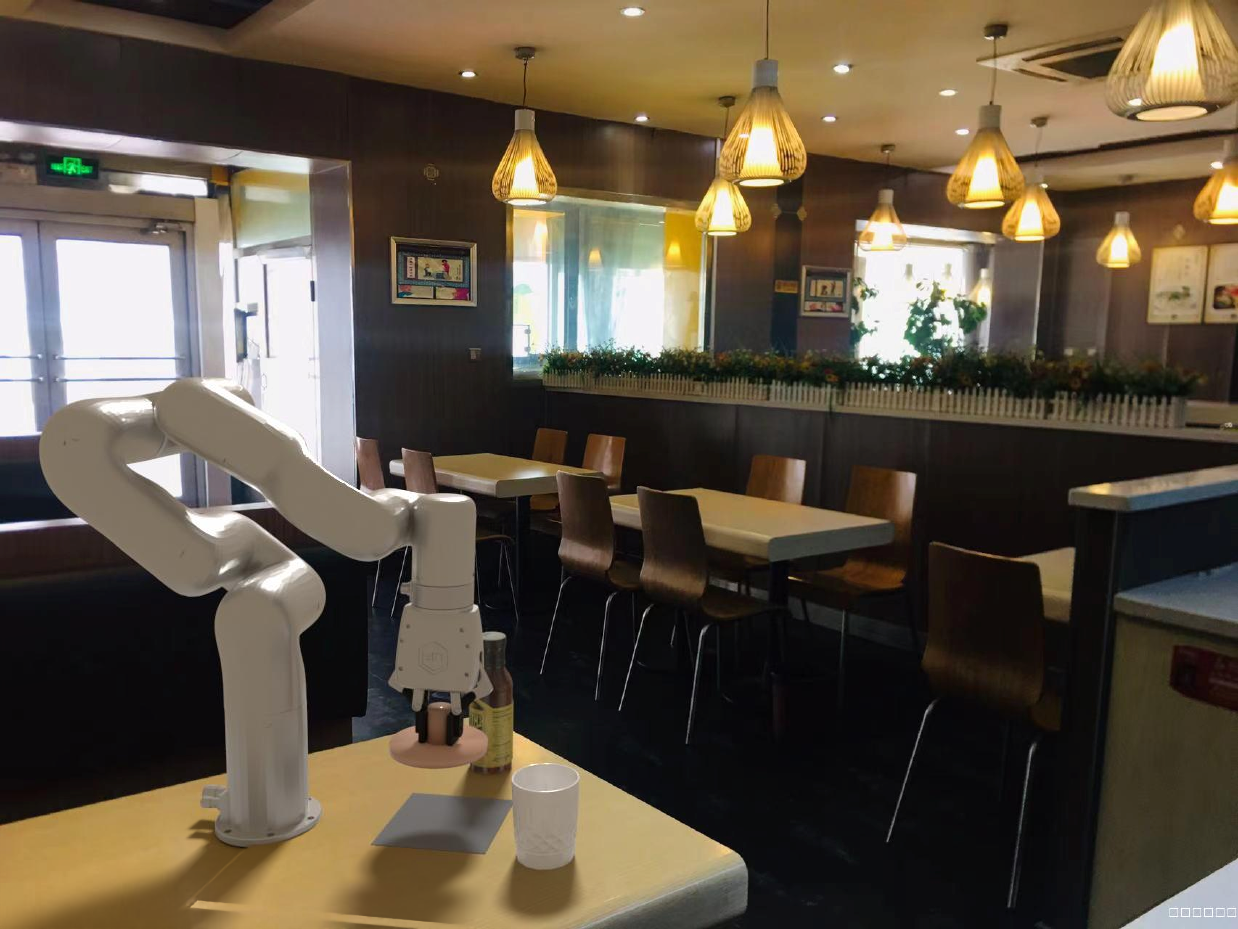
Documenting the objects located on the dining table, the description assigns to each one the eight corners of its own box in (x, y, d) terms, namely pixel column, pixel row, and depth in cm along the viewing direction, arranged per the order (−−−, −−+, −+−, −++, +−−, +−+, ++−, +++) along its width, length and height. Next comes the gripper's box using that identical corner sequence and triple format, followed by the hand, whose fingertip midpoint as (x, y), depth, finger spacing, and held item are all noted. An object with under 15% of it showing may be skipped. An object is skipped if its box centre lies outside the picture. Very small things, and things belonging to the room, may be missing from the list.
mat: (370, 849, 112) (370, 844, 112) (412, 797, 126) (412, 792, 126) (485, 858, 110) (485, 853, 110) (514, 804, 124) (514, 800, 124)
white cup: (569, 880, 105) (570, 794, 104) (502, 872, 107) (502, 788, 106) (586, 846, 113) (586, 766, 112) (523, 839, 115) (523, 760, 114)
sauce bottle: (466, 763, 137) (465, 629, 135) (508, 758, 139) (508, 626, 137) (473, 782, 130) (471, 642, 129) (517, 776, 132) (517, 638, 130)
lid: (373, 763, 112) (374, 719, 111) (409, 726, 124) (410, 686, 123) (471, 773, 110) (473, 728, 110) (498, 734, 122) (499, 694, 122)
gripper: (366, 597, 113) (364, 745, 114) (499, 607, 110) (494, 759, 112) (390, 583, 120) (387, 723, 122) (515, 593, 118) (510, 735, 119)
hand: (439, 739), depth 117 cm, fingers closed on lid, 3 cm apart
